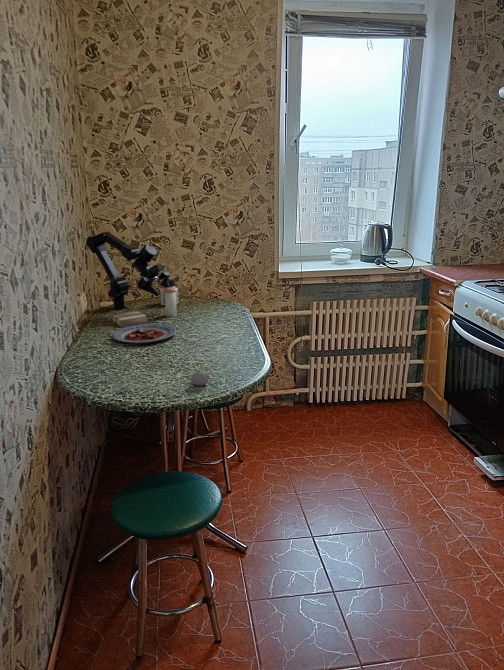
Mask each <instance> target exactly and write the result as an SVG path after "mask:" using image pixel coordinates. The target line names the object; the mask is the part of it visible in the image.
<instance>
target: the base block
mask: <svg viewBox="0 0 504 670" xmlns="http://www.w3.org/2000/svg"><path fill="white" fill-rule="evenodd" d="M112 322H113V323H115V324H116V325H118V326H120V327H121V328H125V327H128V326H133V325H140V324H148V315H146V314H144V313H142V312H140V311H139V310H135V311H129V312H122V313H121V312H120V313H116V314H112Z"/></svg>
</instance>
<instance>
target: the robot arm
mask: <svg viewBox="0 0 504 670" xmlns="http://www.w3.org/2000/svg"><path fill="white" fill-rule="evenodd" d="M106 243H107V244H108V245H110V246H111V247H113V248H114V249H116V250H117V251H119V252H120V253H121V255H122V257H124V259H125V260H127V261H133V262H131V269H137V270H138V272H139V273H140V274H139V276H140V278H139V280H138V281H137V283H136V287H137V288H138V290H142V291H145V292H148V293H150V294H152V295H154V296H156V297H158V296H160V293H159V292H158V291H157V289H156V288H155V287H154V285H153V283H155V282H158V283H159V286H161V287H164V288H168V287H170V285H169V281H168V279H169V278H170V276H171V274H170V272H169V271H167V270H166V271H165V268H166V265H165V263H163V262H162V261H159V262H158V263H156V264H155V265H150V264H149V263H151V261H152V260H153V259H154V258H155V256H156V255H157V253H158V251H157V249H156V248H155V247H154V246H152V245H149V244H148V243H145V244H144V245H143V247H142V248H139V247H137V246H136V245H131V244H129V243H128V244H127V243H126V242H124V241H123V240H121V239H120V238H118V237H117V236H115V235H113V234H112V233H111V232H110V231H103V232H100V233H99V234H97V235H91V236H87V238H86V240H85V244H86V246H87V248H88V249H89V250H90V252H92V253H93V254H95V255H96V256H97V258H98V260H99V262H100V263H101V266H102V267H103V269H104V271H105V272H106V274H107V277H108V278H109V287H110V289H109V290H108V292H107V295H108V298H112V305H111V309H113V310H122V309H127V308H128V306H127V305H126V301H125V300H126V299H125V296H126V295H128V293H129V291H130V290H129V289H130V285H129V283H130V282H129V281H128V279H127V278H126V276H125V275H120V274H119V272H118V270H117V269H116V267H115V265H114V263H113V261H112V260H111V258H110V256H109V254H108V252H107V250H106V245H107V244H106ZM160 272H161V273H160Z"/></svg>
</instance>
